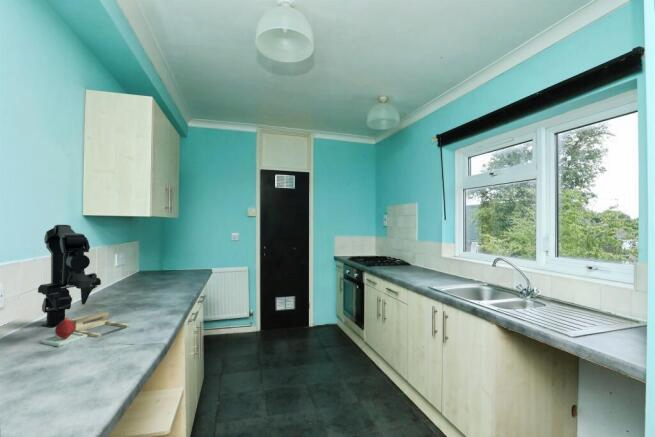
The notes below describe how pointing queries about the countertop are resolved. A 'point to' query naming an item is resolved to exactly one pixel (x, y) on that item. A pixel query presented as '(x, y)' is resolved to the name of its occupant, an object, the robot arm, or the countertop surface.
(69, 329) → the onion
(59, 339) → the tray
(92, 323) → the open rectangular frame
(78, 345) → the countertop surface
